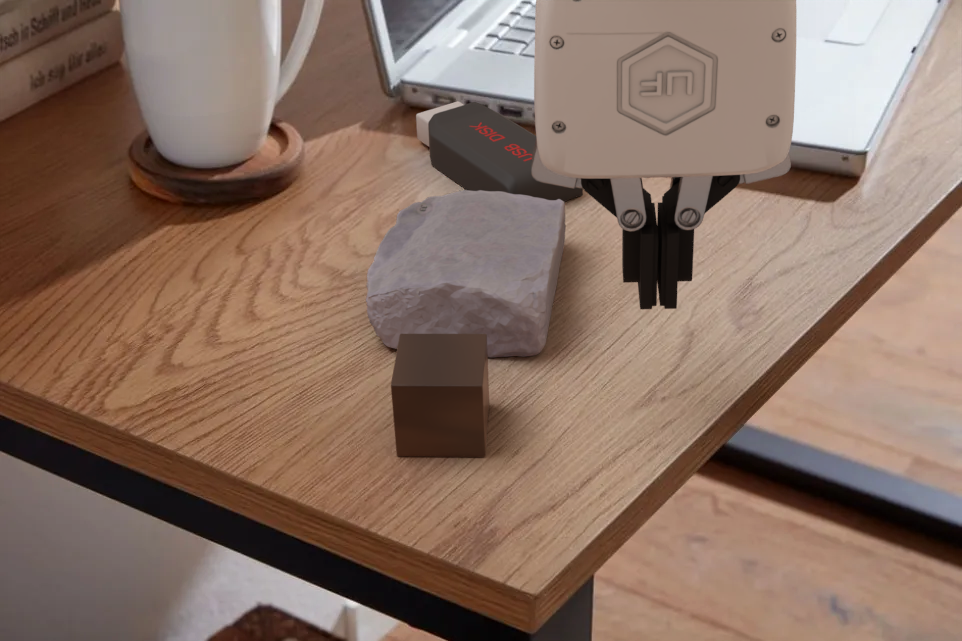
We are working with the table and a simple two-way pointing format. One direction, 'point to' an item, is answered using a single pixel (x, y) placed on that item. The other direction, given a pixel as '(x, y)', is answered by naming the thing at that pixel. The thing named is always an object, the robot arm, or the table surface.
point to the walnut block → (441, 395)
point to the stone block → (470, 270)
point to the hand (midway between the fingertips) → (656, 291)
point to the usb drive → (484, 151)
